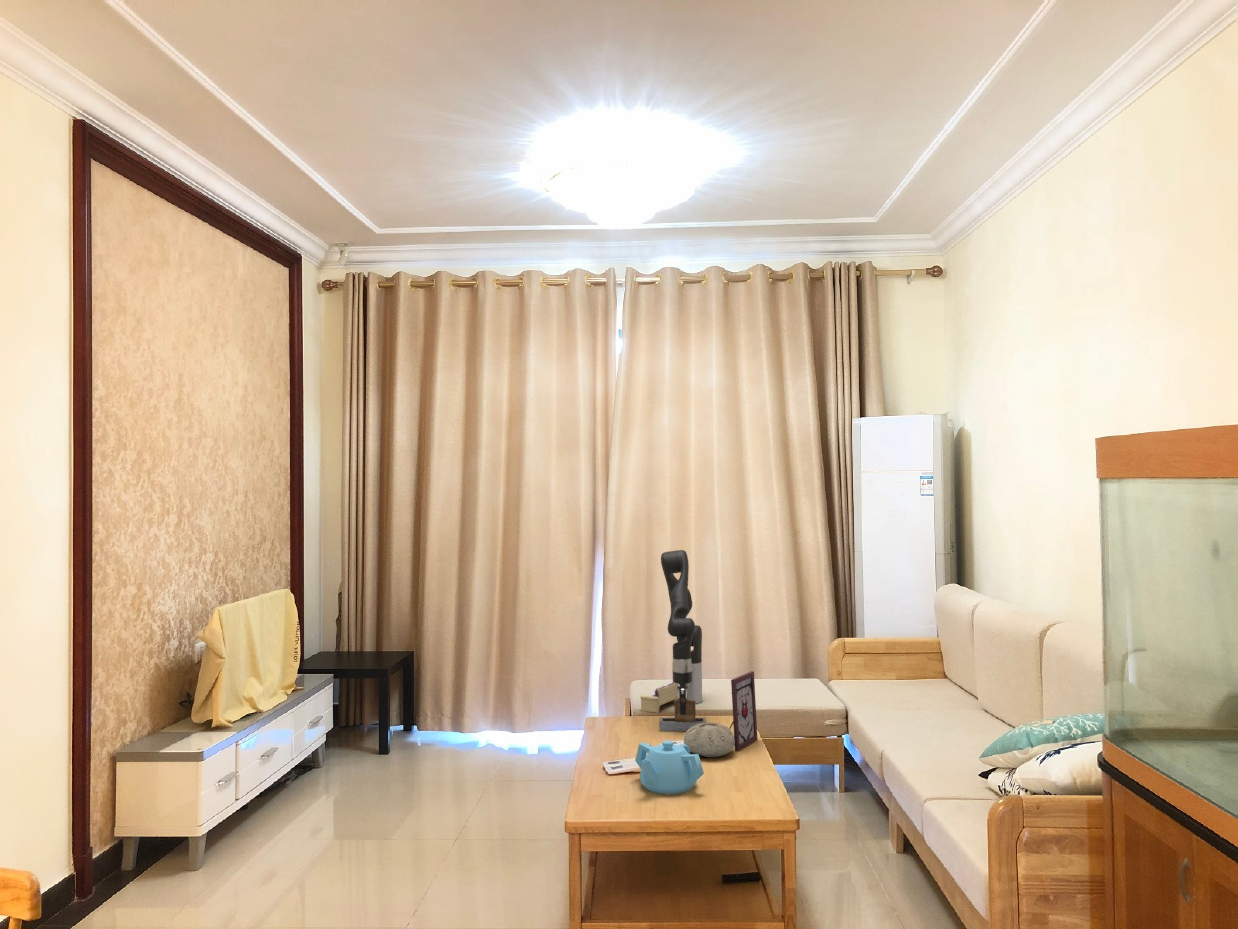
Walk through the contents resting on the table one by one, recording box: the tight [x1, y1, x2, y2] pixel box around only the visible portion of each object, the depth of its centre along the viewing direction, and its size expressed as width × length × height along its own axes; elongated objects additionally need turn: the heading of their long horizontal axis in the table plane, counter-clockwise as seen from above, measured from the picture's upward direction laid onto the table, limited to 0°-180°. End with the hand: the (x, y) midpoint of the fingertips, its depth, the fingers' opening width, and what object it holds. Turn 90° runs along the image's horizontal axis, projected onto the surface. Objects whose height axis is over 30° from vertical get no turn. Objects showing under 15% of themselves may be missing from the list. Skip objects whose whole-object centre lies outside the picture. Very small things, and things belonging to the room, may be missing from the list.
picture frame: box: [728, 670, 758, 753], centre depth 307 cm, size 17×10×25 cm, turn 146°
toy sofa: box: [639, 681, 679, 714], centre depth 362 cm, size 21×9×10 cm, turn 149°
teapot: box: [634, 740, 705, 795], centre depth 263 cm, size 19×19×14 cm
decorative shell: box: [683, 721, 735, 758], centre depth 295 cm, size 18×18×10 cm
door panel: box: [674, 699, 697, 722], centre depth 327 cm, size 3×8×10 cm, turn 86°
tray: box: [658, 716, 707, 733], centre depth 327 cm, size 7×18×4 cm, turn 86°
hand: (682, 712), depth 327 cm, fingers open, 8 cm apart
